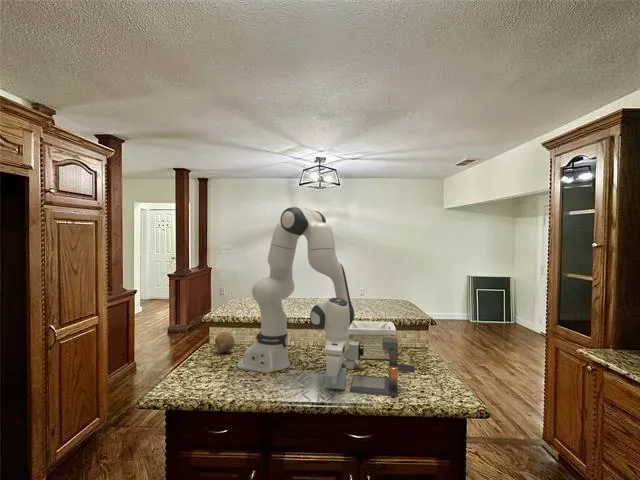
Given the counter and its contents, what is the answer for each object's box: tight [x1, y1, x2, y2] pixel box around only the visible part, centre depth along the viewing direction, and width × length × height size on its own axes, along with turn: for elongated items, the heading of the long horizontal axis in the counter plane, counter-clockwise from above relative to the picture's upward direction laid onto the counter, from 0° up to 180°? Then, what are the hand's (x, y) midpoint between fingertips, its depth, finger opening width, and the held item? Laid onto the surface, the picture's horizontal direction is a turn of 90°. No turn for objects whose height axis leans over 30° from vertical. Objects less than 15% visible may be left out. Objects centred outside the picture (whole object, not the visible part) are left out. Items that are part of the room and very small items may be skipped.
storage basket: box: [348, 320, 397, 360], centre depth 173 cm, size 24×16×15 cm
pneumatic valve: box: [343, 340, 364, 370], centre depth 155 cm, size 6×12×12 cm, turn 78°
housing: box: [324, 367, 347, 391], centre depth 133 cm, size 7×5×6 cm
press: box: [349, 337, 416, 398], centre depth 135 cm, size 23×14×18 cm, turn 79°
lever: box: [388, 366, 399, 381], centre depth 127 cm, size 3×6×4 cm, turn 169°
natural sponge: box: [214, 331, 236, 354], centre depth 172 cm, size 9×9×10 cm
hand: (335, 379), depth 133 cm, fingers closed on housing, 5 cm apart
